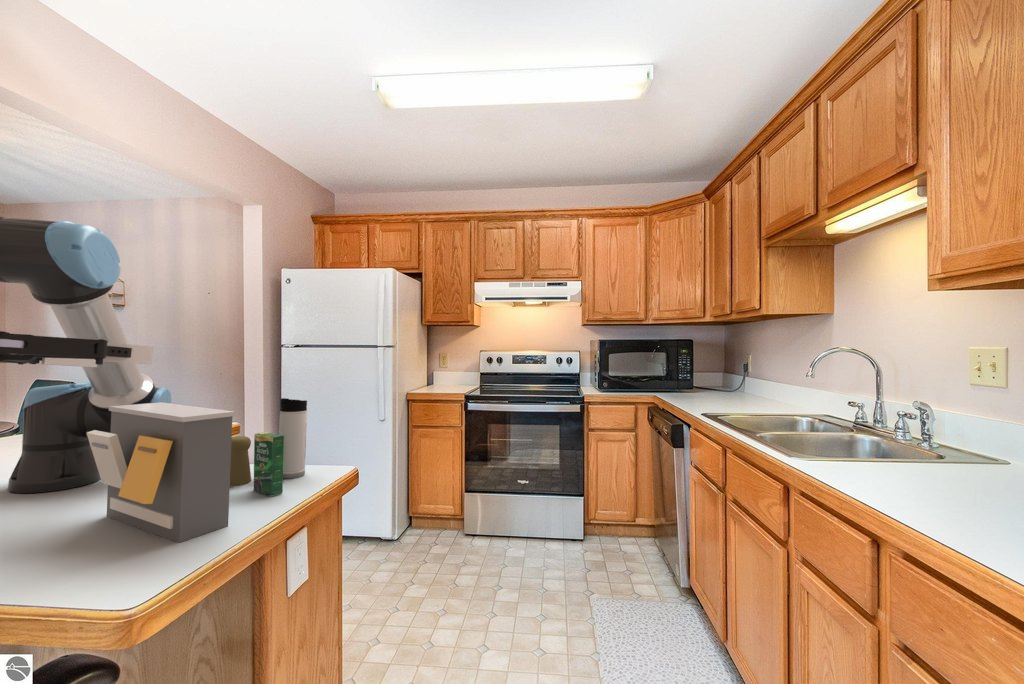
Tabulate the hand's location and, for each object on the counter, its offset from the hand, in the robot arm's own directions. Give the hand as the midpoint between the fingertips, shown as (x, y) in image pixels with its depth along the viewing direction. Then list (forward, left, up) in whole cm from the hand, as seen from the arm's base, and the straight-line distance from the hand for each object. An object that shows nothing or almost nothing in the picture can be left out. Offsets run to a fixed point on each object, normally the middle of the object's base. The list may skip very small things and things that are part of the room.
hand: (122, 357), depth 71 cm
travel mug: (+17, +39, -31) cm, 53 cm away
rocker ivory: (-6, +11, -23) cm, 26 cm away
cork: (+6, +35, -31) cm, 47 cm away
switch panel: (+2, +11, -31) cm, 33 cm away
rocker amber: (+2, +1, -23) cm, 23 cm away
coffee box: (+15, +26, -31) cm, 43 cm away
